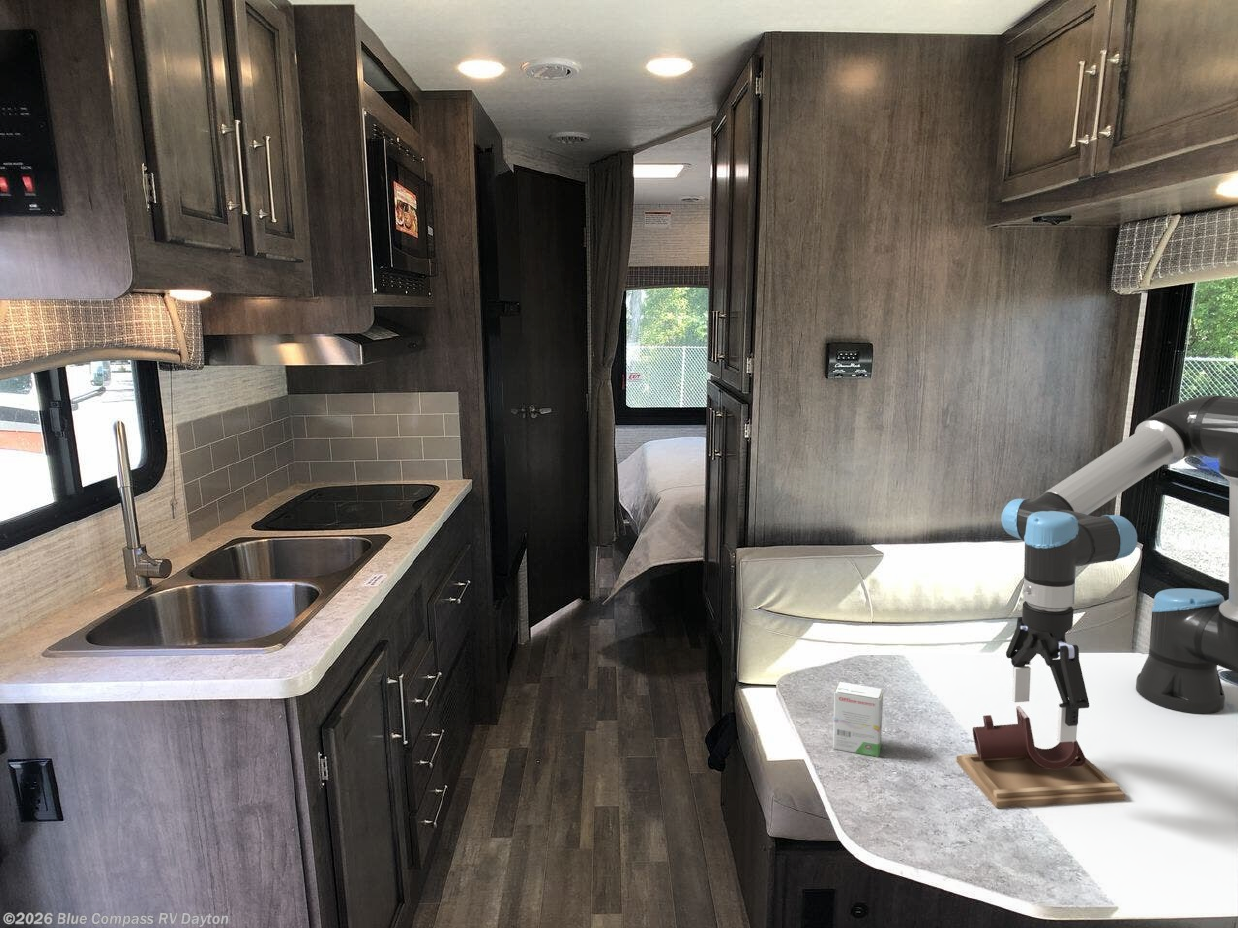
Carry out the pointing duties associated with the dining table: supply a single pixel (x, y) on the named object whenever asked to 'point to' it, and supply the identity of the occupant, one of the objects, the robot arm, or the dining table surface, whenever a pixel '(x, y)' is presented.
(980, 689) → the dining table surface
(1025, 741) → the bracket
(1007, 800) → the side panel
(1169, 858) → the dining table surface
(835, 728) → the ink box
